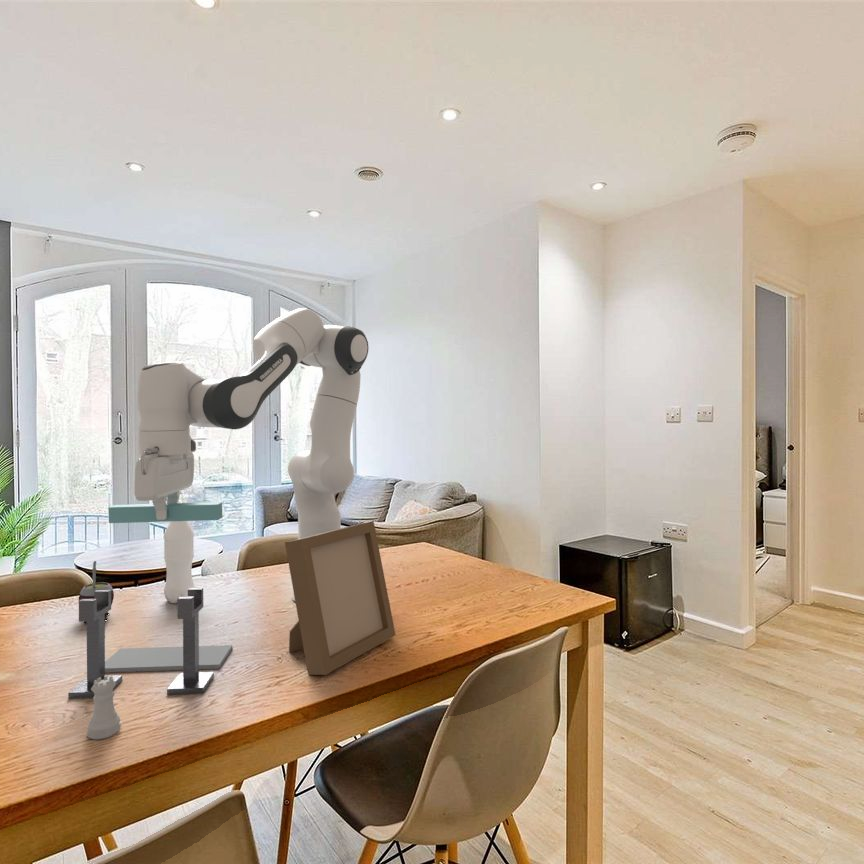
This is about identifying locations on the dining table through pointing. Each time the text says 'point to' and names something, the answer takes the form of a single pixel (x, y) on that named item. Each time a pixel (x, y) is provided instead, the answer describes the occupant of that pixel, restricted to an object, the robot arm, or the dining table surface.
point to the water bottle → (178, 559)
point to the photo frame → (338, 596)
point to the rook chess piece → (103, 710)
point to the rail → (176, 512)
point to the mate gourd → (89, 589)
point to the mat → (164, 658)
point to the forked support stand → (183, 683)
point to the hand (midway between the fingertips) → (167, 517)
